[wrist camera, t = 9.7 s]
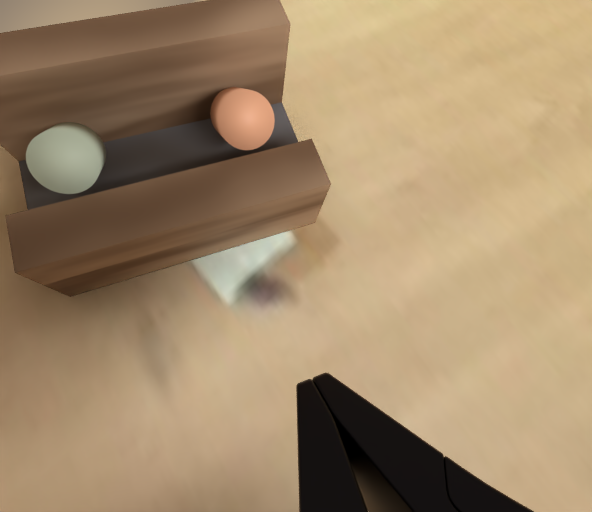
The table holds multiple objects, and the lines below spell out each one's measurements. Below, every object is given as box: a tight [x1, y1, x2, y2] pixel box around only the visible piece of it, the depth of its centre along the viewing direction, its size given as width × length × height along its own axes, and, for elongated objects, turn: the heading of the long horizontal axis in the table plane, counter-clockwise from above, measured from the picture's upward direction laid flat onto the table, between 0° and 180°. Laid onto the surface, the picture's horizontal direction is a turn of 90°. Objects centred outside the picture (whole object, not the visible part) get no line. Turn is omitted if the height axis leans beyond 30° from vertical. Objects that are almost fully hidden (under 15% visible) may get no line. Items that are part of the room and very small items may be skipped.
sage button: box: [26, 122, 106, 194], centre depth 19 cm, size 4×3×4 cm
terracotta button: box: [210, 87, 275, 150], centre depth 21 cm, size 4×3×4 cm
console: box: [0, 0, 331, 296], centre depth 21 cm, size 10×16×9 cm, turn 110°
